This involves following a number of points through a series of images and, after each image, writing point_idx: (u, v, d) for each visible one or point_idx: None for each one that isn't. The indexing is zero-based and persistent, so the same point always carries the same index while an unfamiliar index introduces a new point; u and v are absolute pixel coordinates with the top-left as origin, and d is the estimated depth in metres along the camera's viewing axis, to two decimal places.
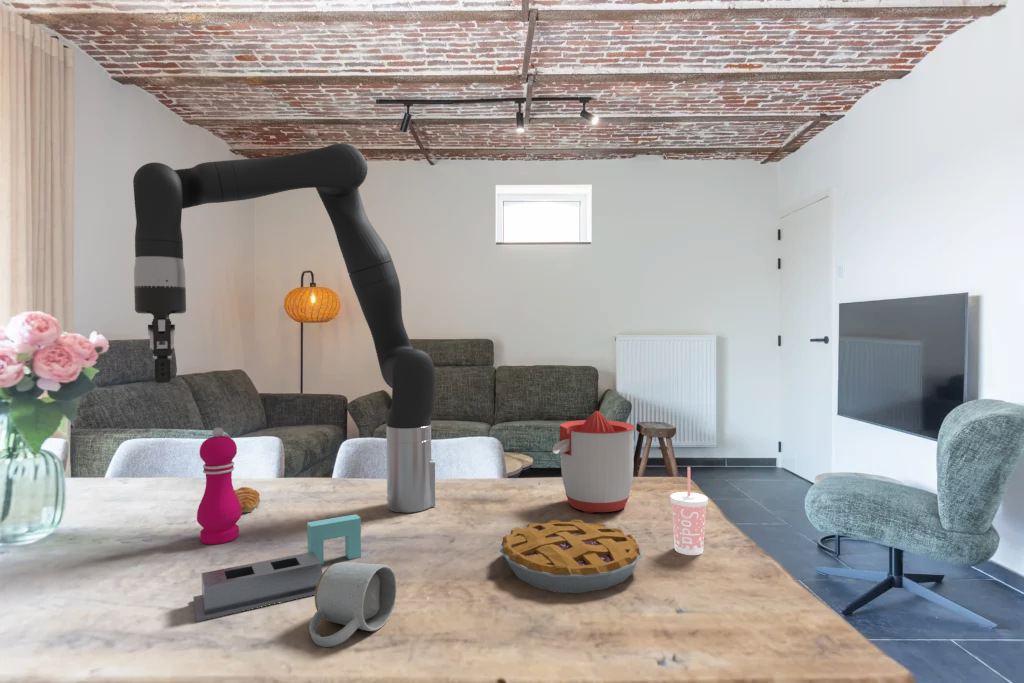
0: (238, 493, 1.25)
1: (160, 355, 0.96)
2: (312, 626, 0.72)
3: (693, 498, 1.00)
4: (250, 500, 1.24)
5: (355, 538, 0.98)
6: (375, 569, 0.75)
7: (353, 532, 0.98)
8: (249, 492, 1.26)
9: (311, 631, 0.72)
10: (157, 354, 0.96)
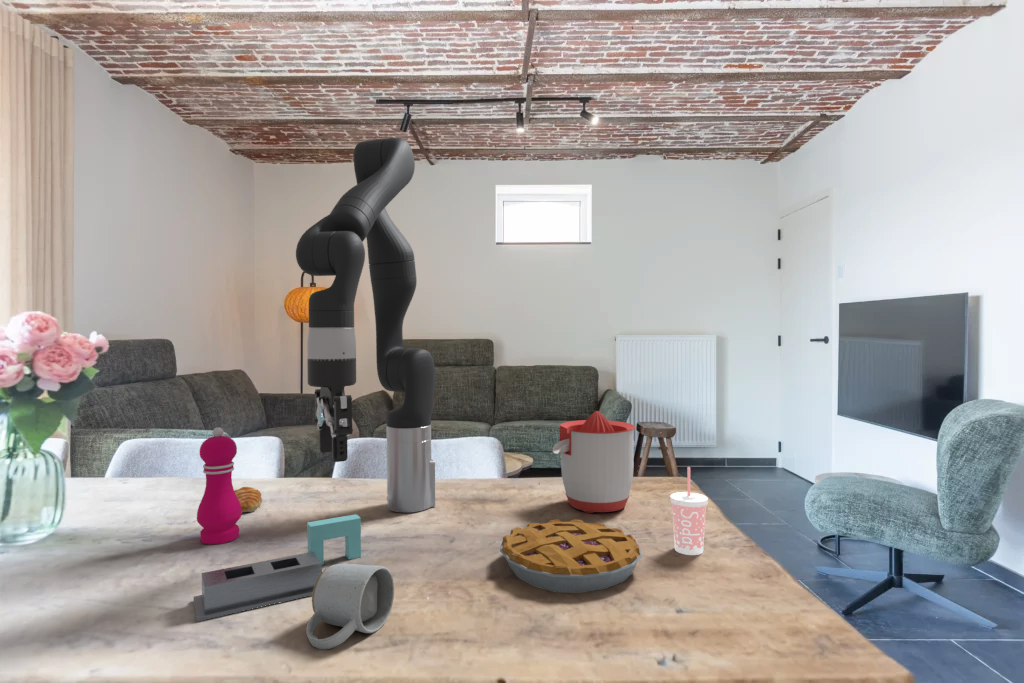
0: (240, 493, 1.26)
1: (342, 434, 0.91)
2: (309, 628, 0.72)
3: (693, 498, 1.00)
4: (253, 499, 1.24)
5: (355, 538, 0.98)
6: (372, 571, 0.74)
7: (353, 532, 0.98)
8: (251, 492, 1.26)
9: (308, 633, 0.71)
10: (339, 433, 0.90)
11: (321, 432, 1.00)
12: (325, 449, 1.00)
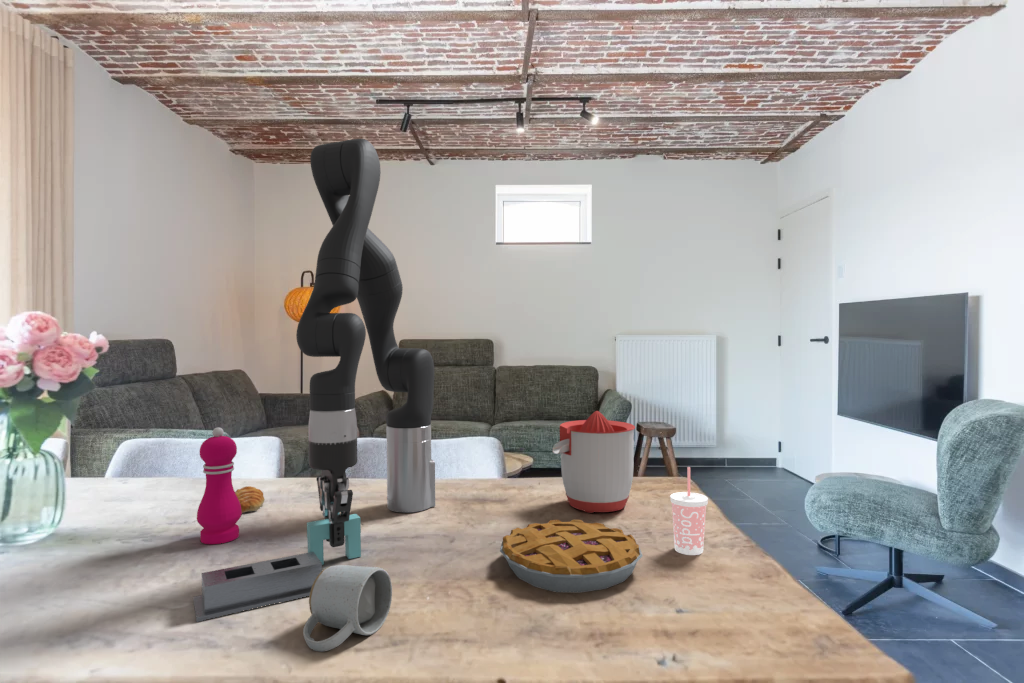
0: (243, 492, 1.26)
1: (339, 522, 0.94)
2: (306, 630, 0.72)
3: (693, 498, 1.00)
4: (255, 499, 1.24)
5: (355, 537, 0.98)
6: (370, 572, 0.74)
7: (353, 531, 0.98)
8: (254, 491, 1.27)
9: (305, 635, 0.71)
10: (336, 521, 0.93)
11: None
12: None
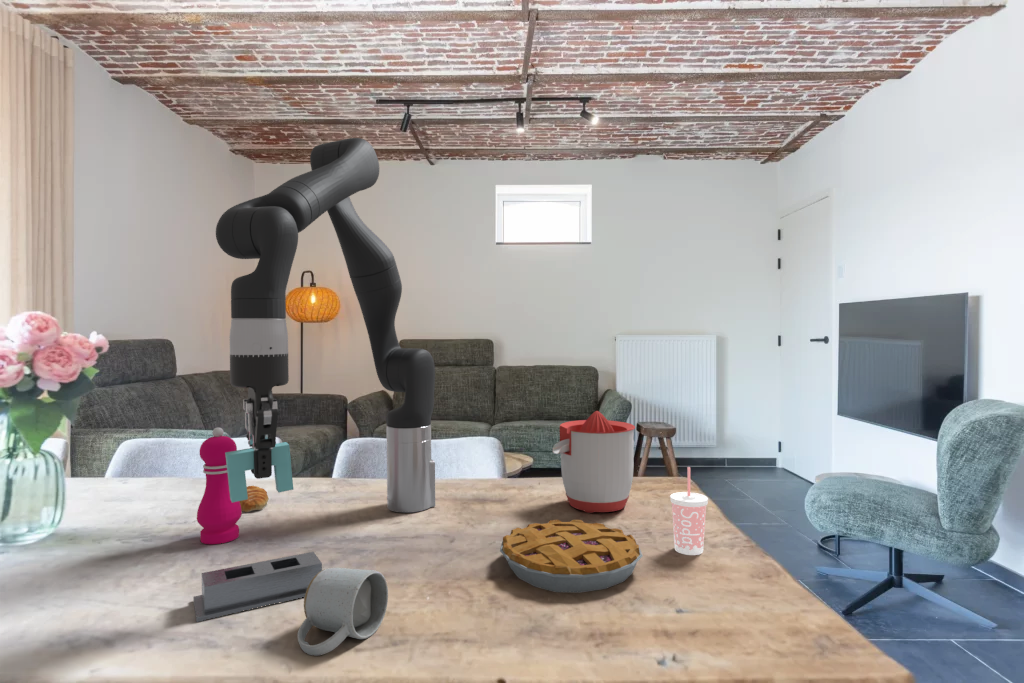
0: (247, 491, 1.27)
1: (263, 447, 0.80)
2: (300, 634, 0.71)
3: (693, 498, 1.00)
4: (260, 498, 1.25)
5: (284, 468, 0.84)
6: (365, 575, 0.73)
7: (281, 461, 0.84)
8: (258, 490, 1.27)
9: (299, 639, 0.70)
10: (260, 447, 0.80)
11: None
12: None
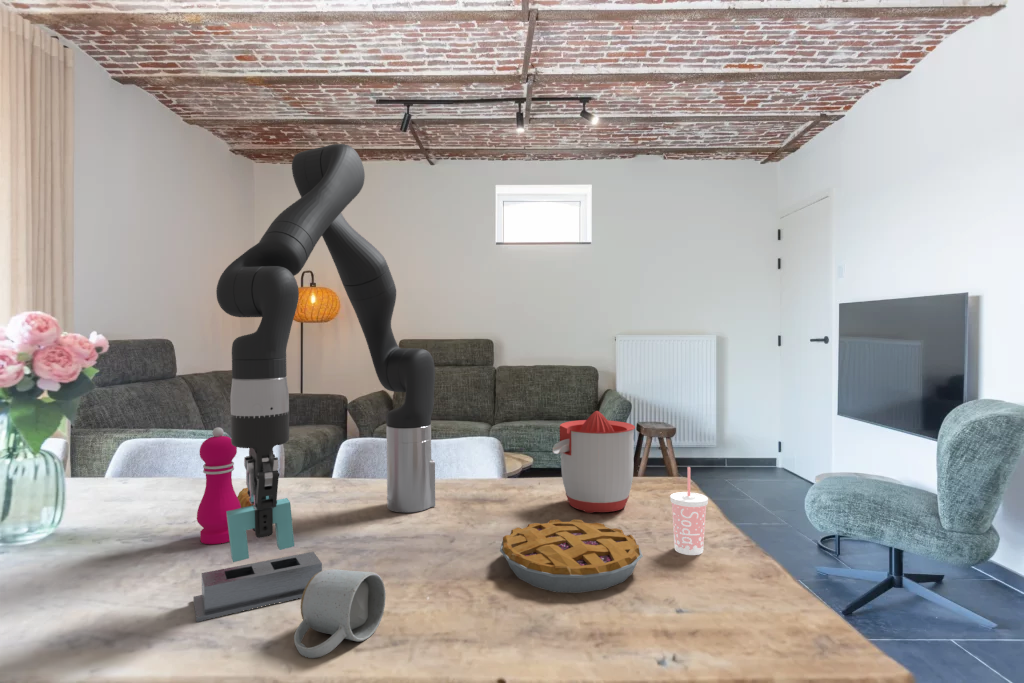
0: None
1: (264, 508, 0.80)
2: (297, 636, 0.70)
3: (693, 498, 1.00)
4: None
5: (285, 525, 0.85)
6: (363, 577, 0.72)
7: (282, 518, 0.84)
8: None
9: (296, 641, 0.69)
10: (261, 508, 0.80)
11: None
12: None
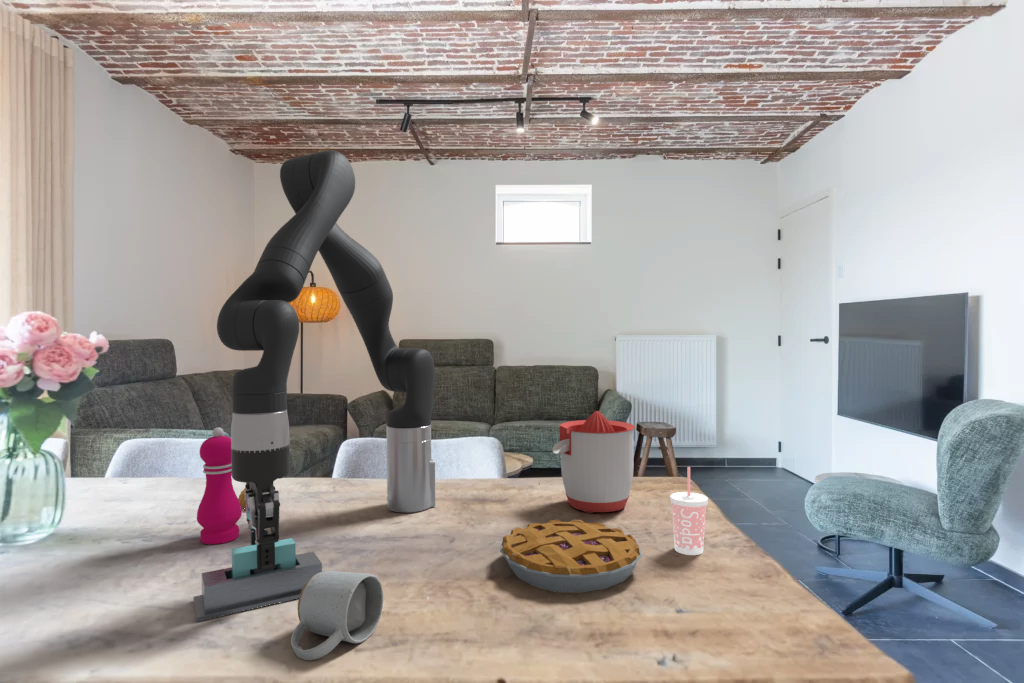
0: None
1: (266, 543, 0.79)
2: (294, 638, 0.70)
3: (693, 498, 1.00)
4: None
5: (288, 566, 0.85)
6: (360, 579, 0.72)
7: (286, 559, 0.85)
8: None
9: (293, 643, 0.69)
10: (263, 543, 0.79)
11: (253, 535, 0.86)
12: None
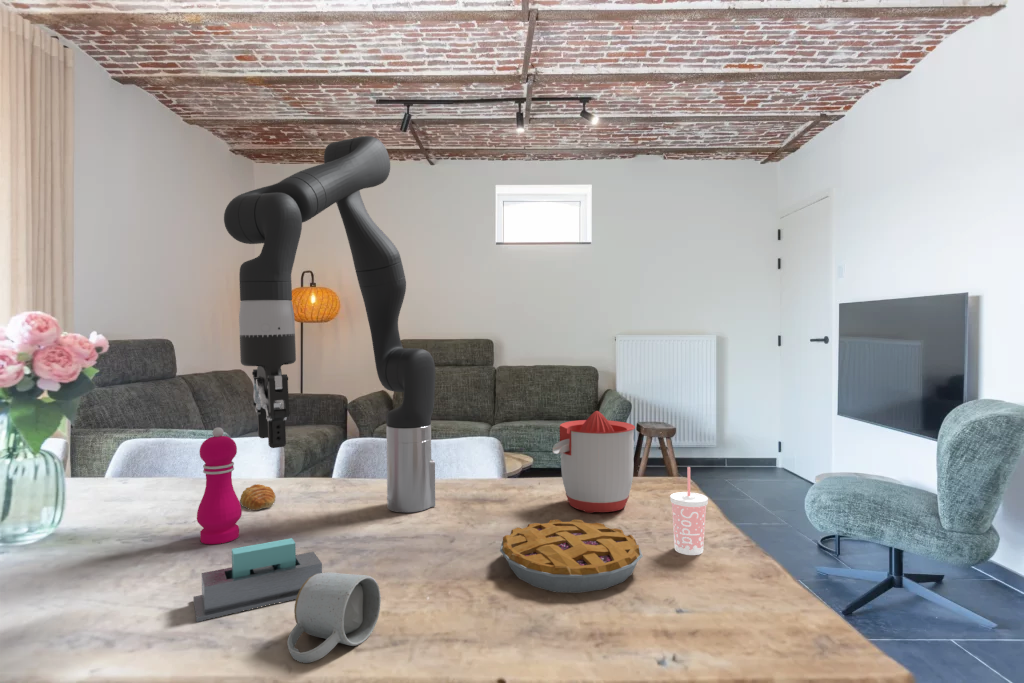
0: (254, 490, 1.28)
1: (277, 417, 0.82)
2: (290, 640, 0.69)
3: (693, 498, 1.00)
4: (269, 496, 1.26)
5: (288, 566, 0.85)
6: (357, 580, 0.71)
7: (286, 559, 0.85)
8: (265, 488, 1.29)
9: (289, 646, 0.68)
10: (274, 416, 0.82)
11: (260, 416, 0.91)
12: (264, 434, 0.91)
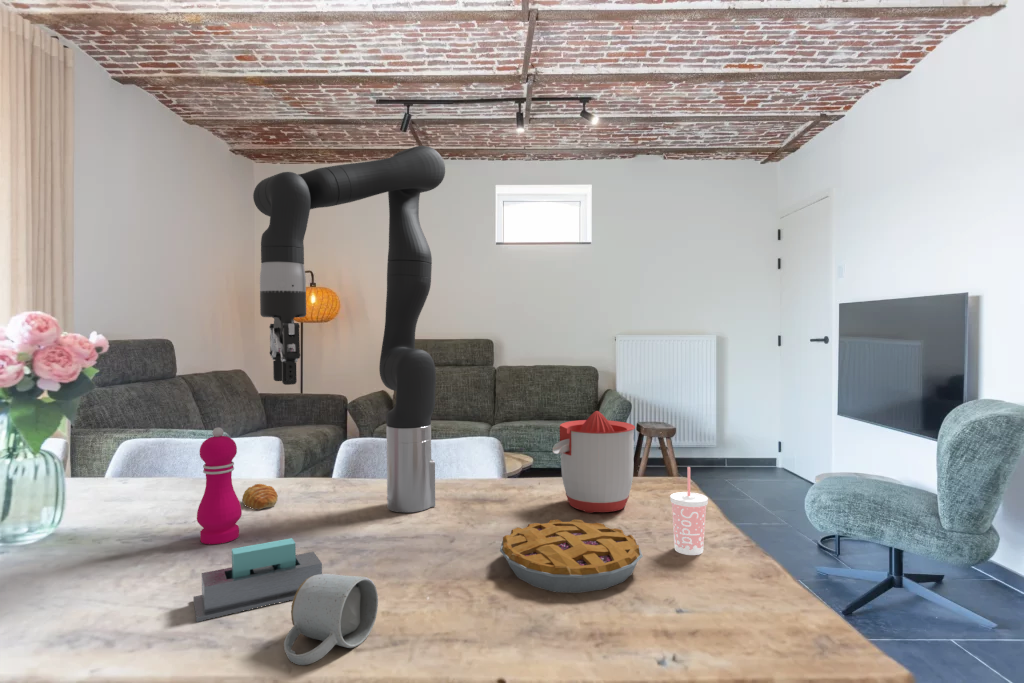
0: (257, 489, 1.28)
1: (290, 358, 0.99)
2: (287, 642, 0.69)
3: (693, 498, 1.00)
4: (271, 495, 1.27)
5: (288, 566, 0.85)
6: (354, 582, 0.71)
7: (286, 559, 0.85)
8: (267, 488, 1.29)
9: (286, 648, 0.68)
10: (287, 357, 0.99)
11: (275, 362, 1.08)
12: (278, 378, 1.08)
